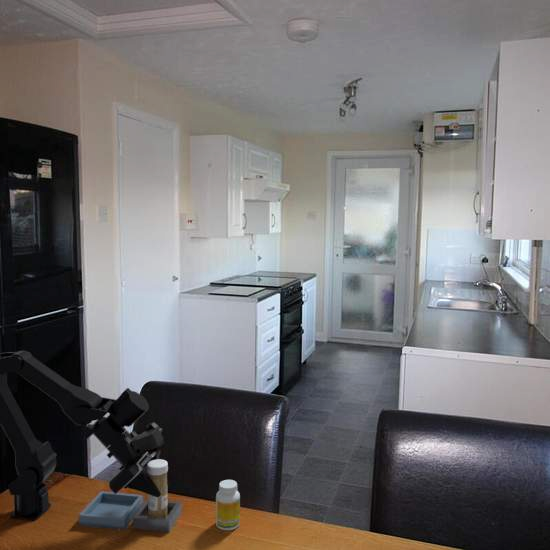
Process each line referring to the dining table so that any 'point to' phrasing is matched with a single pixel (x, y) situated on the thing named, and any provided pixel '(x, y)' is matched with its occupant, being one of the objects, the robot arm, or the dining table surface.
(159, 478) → the sprinkles bottle
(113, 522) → the tray
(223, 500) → the supplement bottle
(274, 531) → the dining table surface
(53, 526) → the dining table surface
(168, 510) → the bottle holder
